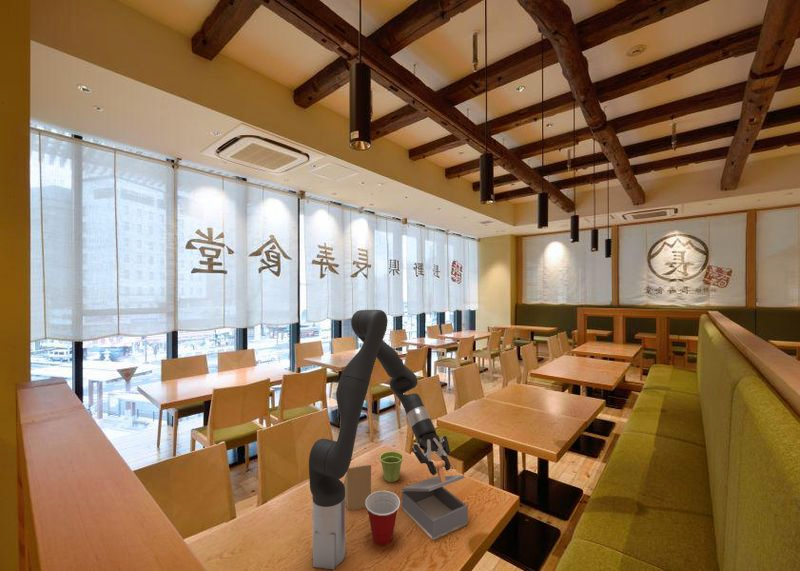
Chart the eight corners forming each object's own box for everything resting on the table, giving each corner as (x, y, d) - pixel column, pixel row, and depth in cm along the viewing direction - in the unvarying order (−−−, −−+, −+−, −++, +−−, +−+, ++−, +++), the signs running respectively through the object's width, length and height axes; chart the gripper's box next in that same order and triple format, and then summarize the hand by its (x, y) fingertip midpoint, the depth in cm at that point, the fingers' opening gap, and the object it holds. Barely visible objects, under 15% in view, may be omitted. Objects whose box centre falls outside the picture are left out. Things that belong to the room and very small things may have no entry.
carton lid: (464, 477, 119) (458, 455, 122) (429, 491, 112) (423, 466, 114) (434, 478, 133) (429, 458, 136) (401, 490, 126) (397, 469, 128)
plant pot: (402, 485, 140) (402, 463, 140) (378, 484, 141) (378, 462, 141) (403, 472, 150) (403, 451, 150) (380, 471, 150) (380, 451, 150)
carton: (467, 524, 118) (467, 506, 118) (433, 540, 111) (433, 521, 110) (434, 496, 133) (434, 480, 133) (402, 508, 126) (402, 491, 126)
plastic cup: (368, 555, 105) (368, 514, 104) (362, 530, 115) (362, 493, 115) (404, 548, 107) (404, 508, 107) (395, 524, 118) (395, 488, 118)
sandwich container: (363, 483, 142) (363, 445, 142) (371, 507, 127) (371, 464, 127) (341, 486, 140) (341, 448, 139) (347, 511, 125) (347, 468, 125)
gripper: (407, 422, 122) (428, 473, 112) (441, 414, 130) (464, 461, 119) (399, 432, 127) (419, 482, 116) (432, 423, 134) (453, 470, 124)
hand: (441, 471), depth 118 cm, fingers closed on carton lid, 5 cm apart
